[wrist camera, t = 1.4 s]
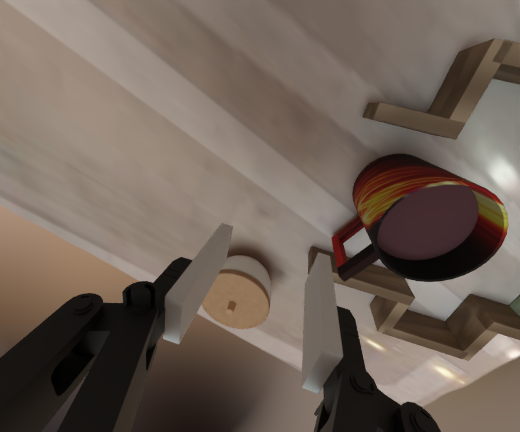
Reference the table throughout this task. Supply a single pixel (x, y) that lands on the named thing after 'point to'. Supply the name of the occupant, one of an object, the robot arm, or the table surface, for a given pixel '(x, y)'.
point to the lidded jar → (239, 293)
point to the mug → (421, 221)
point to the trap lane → (394, 286)
